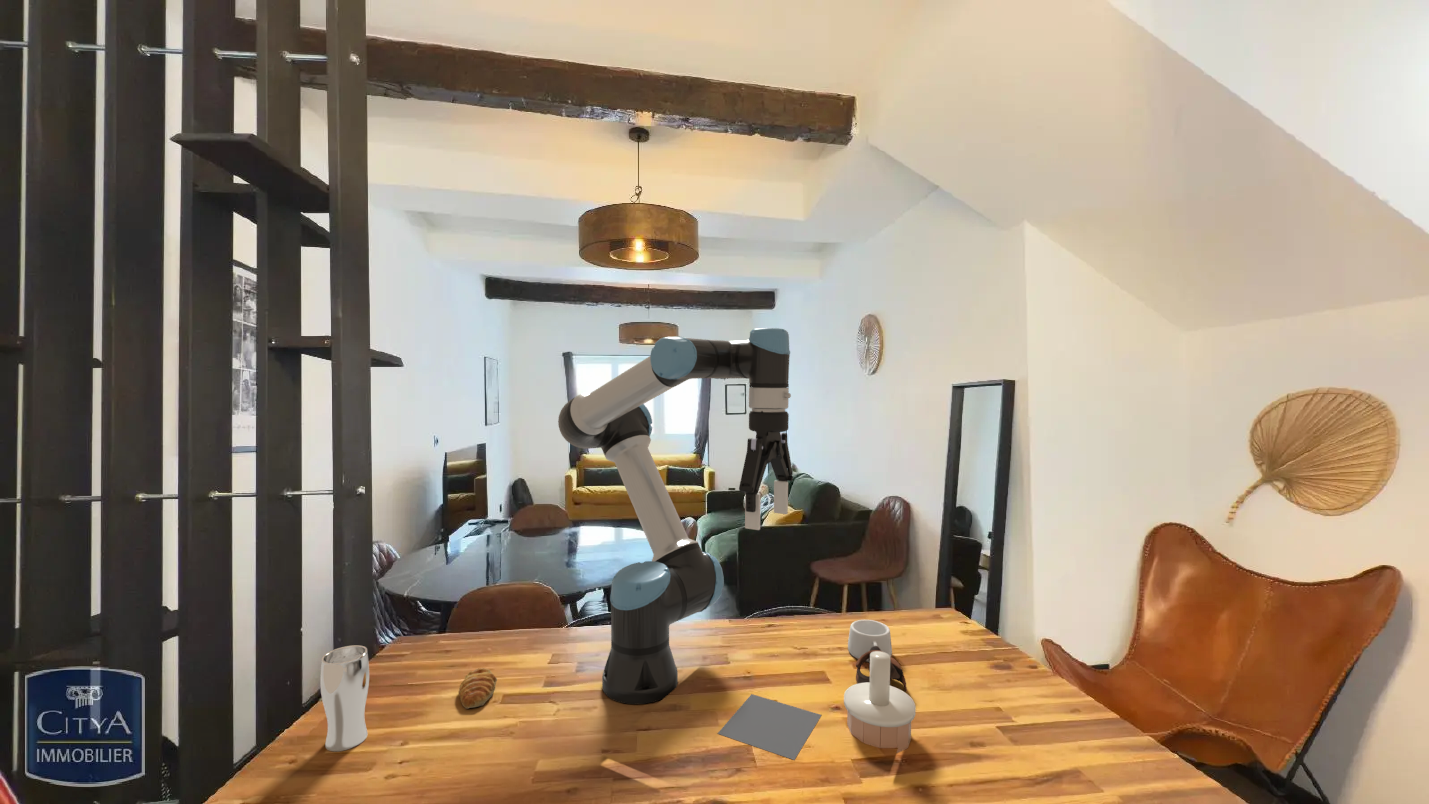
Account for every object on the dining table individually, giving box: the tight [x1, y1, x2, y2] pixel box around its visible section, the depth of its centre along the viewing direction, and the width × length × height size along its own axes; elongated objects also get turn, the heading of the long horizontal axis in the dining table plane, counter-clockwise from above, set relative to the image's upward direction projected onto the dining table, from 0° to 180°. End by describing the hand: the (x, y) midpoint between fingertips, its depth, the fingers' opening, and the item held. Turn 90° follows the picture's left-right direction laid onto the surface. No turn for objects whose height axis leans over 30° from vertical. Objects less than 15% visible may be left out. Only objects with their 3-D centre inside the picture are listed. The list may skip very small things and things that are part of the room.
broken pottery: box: [855, 646, 908, 693], centre depth 117 cm, size 12×10×8 cm
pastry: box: [458, 667, 498, 710], centre depth 112 cm, size 9×7×4 cm
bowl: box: [846, 711, 912, 754], centre depth 101 cm, size 10×10×5 cm
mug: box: [847, 619, 893, 663], centre depth 129 cm, size 12×10×6 cm
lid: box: [843, 651, 917, 727], centre depth 100 cm, size 12×12×9 cm
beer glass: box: [319, 644, 370, 752], centre depth 98 cm, size 7×7×15 cm
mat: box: [717, 693, 823, 761], centre depth 102 cm, size 14×14×1 cm
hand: (767, 520), depth 111 cm, fingers open, 13 cm apart
